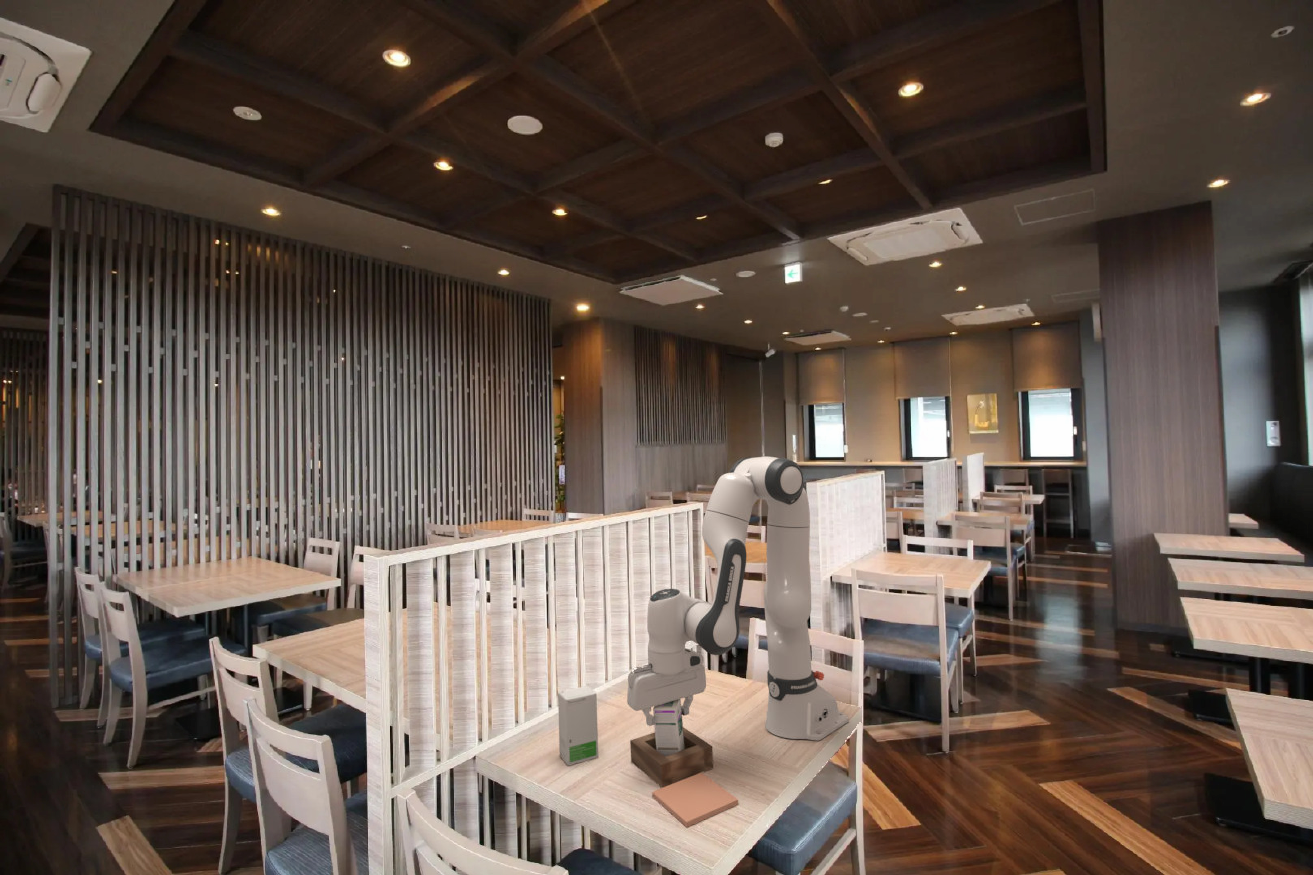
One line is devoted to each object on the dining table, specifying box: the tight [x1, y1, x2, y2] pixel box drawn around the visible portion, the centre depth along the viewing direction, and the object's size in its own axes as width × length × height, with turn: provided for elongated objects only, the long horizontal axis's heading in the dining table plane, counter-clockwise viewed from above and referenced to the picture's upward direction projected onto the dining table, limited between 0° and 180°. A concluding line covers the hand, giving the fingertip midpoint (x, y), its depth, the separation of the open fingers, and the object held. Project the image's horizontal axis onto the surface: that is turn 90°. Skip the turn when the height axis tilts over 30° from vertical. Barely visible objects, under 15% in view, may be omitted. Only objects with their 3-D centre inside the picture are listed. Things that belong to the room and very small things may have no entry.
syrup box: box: [652, 698, 685, 757], centre depth 142 cm, size 6×6×14 cm
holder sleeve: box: [629, 726, 714, 788], centre depth 142 cm, size 14×14×5 cm
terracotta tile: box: [651, 772, 739, 828], centre depth 127 cm, size 13×13×1 cm
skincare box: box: [557, 685, 599, 766], centre depth 148 cm, size 8×7×16 cm
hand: (668, 719), depth 142 cm, fingers open, 8 cm apart
